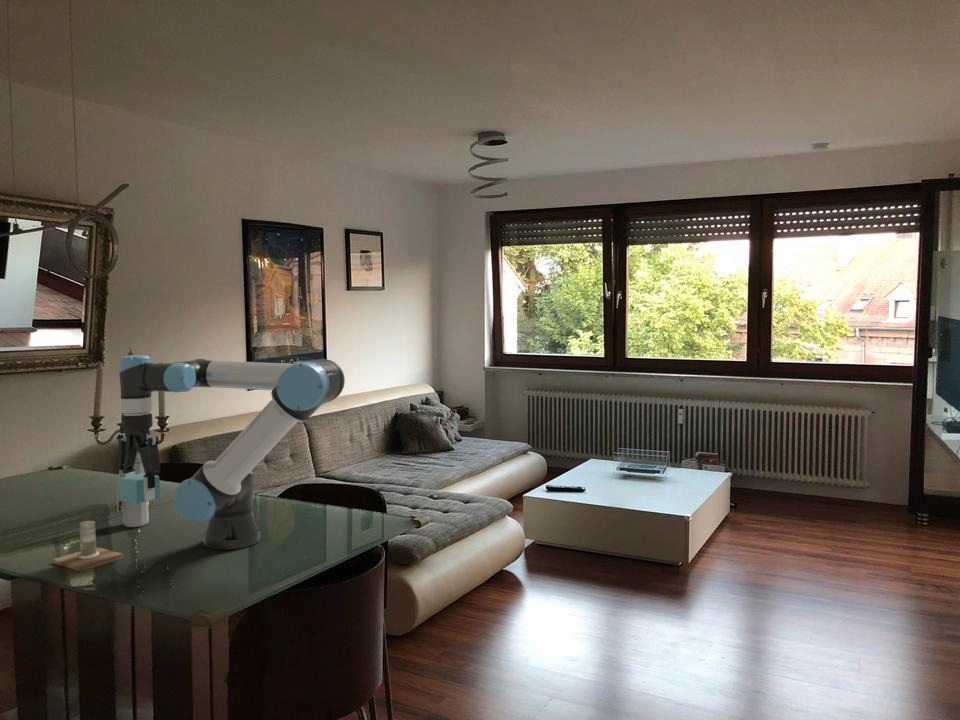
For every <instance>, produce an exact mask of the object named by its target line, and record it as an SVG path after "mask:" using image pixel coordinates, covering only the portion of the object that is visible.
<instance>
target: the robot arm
mask: <svg viewBox="0 0 960 720" xmlns="http://www.w3.org/2000/svg"><path fill="white" fill-rule="evenodd" d="M118 375H119V385H120V413H121V414H122V415H121V417H120V418H121V428H122V429H123V430H125V432H123V433H118V434H117V440H118V457H117V458H118V459H117V463H118V464H117V469H118V471H119V470H122V472H123V473H124V477H127V476H132V475H135V472H132V471H135V469H134V463H135V459H136V454H137V452H138V453H140V457H141V460H142V464H143V468H144V471H145V475H144V476H143V480H144V501H148V502H149V500H150V501H153V499H154V500H156V499H155V475H156V476H157V475H158V474H159V475H160V474H161V472H162V471H161V470H162V469H161V463H160V462H161V461H160V453H159V445H158V444H159V437H158V436H152V435H151V432H150V429H151V428H152V427H153V426H154V425H153V423H154V422H153V414H152V413H151V412H152V411H153V408H152V405H153V404H152V393H153V392H162V393H164V392H165V393H166V392H167V393H169V392H170V393H177V394H178V393H182V392H190V391H191V390H192V389H193V388H218V389H219V388H220V389H241V390H242V389H243V390H260V391H271V393H270V395H271V399H270V401H269V402H268V403H267V404H266V405H265V406H264V407H263V409H261V411H260V412H259V413H258V414H257V415H256V416H255V417H254V418H253V419H252V420H251V421H250V423H248V424H247V426H246V427H245V428H244V429H242V431H241V432H239V433H240V434H239V435H238V436H236V438H235V439H233V440H232V442H231V443H230V444H229V445H228V446H227V447H226V449H224V450H223V452H222V453H221V454H220V455H219V456H218V457H217V458H216V459H215V460H207V461H206V462H204V463H203V465H202V466H201V467H200V468H199V469H198V470H197V471H196V472H195V473H194V474H193V476H191V477H190V478H186V479H184V480H182V481H181V482H180V483H179V484H178V485H177V486H176V489H175V491H174V493H173V500H174V506H175V509H176V511H177V512H178V514H179V515H180V516H181V517H182V518H183V519H184V520H185V521H188V522H190V523H195V524H200V523H203V522H207V525H206V530H205V532H204V534H203V546H204V547H205V548H208V549H211V550H219V551H221V550H222V551H223V550H224V551H225V550H228V551H229V550H237V549H242V548H248V547H250V546H253V545H255V544H257V543H258V542H259V541H260V540H261V538H260V537H261V534H260V533H261V532H260V529H259V527H258V523H257V521H256V518H255V516H254V508H253V506H254V504H253V503H254V499H253V498H254V494H253V493H254V491H253V490H254V489H253V488H254V487H253V486H254V485H253V476H254V474H253V469H255V468H256V466H257V465H258V464H260V462H261V461H262V460H263V459H264V458H265V457H266V455H267V454H269V452H270V451H271V450H272V449H273V448H274V447H276V445H277V444H278V443H279V442H280V441H281V440H282V438H283V437H285V436H286V434H287V433H288V432H289V431H291V429H292V428H293V427H294V426H295V425H296V423H298V422H299V423H300V422H302V423H303V422H306V421H308V420H309V419H310V418H311V416H312V415H313V414H315V412H316V411H317V410H318V409H319V408H320V407H321V406H322V405H324V404H327V403H330V402H332V401H334V400H335V399H336V398H338V397H339V396H340V395H341V393H342V391H343V390H344V388H345V383H346V382H345V381H346V380H345V379H346V378H345V375H344V372H343V370H342V368H341V367H340V366H339V364H337V362H335V361H333V360H331V359H328V358H327V359H326V358H319V359H318V358H317V359H314V360H313V359H312V360H299V361H298V362H295V363H287V362H286V363H280V362H258V361H257V362H256V361H235V360H233V361H231V360H230V361H229V360H210V359H206V358H197V359H192V360H185V361H178V362H169V363H167V362H165V363H164V362H162V363H157V362H156V363H155V362H154V363H153V362H152V361H151V357H150V356H149V355H144V354H143V355H140V354H139V355H138V354H135V355H124V356H122V357H121V358H120V359H119V371H118ZM145 447H146V448H145ZM122 464H124V465H122Z"/></svg>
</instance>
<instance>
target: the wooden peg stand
mask: <svg viewBox="0 0 960 720" xmlns="http://www.w3.org/2000/svg"><path fill="white" fill-rule="evenodd" d="M96 537H97V536H96V522H95V521H94V520H85V521H82V522H79V542H80V543H79V547H80V551H76V552H73V553H70V554H67V555H66V554H65V555H63V556H59V557H56V558H53V559H51V561H52V564H54V565H58V566H61V567H64V568H68V569H71V570H75V571H78V572H83V571H86V570H90V569H93V568H97V567H99V566H102V565H106V564H109V563H112V562H115V561H117V560H120V559H124V558H125V554H124V553H123V552H122V553H121V552H119V551H118V552H117V551H114V550H109V549H107V548H102V547H98V546H97V540H96Z"/></svg>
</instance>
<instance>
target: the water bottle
mask: <svg viewBox="0 0 960 720" xmlns="http://www.w3.org/2000/svg"><path fill="white" fill-rule="evenodd" d="M145 448H146V447H145ZM122 465H124V464H122ZM134 469H135V471H132V472H135V475H137V474H141V473H144V474H145V471H144V468H143V464H142V460H141V457H140V453H138V452H137V454H136V459H135V463H134ZM123 477H124V473H123V472H122V470H119V469H118V481H117V482H118V483H117V495H116V503H115V504H116V509H117V512H118V513H122V524H123V525H124V526H125V528H140V527H144V526H146V525H147V524H149V522H150V520H149V518H150V516H149V515H150V514H149V501H146V502H142V503H138V504H135V503H130V502H125V501H121V509H120V510H119V500H120V487H119V478H123Z"/></svg>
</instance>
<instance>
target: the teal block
mask: <svg viewBox="0 0 960 720" xmlns="http://www.w3.org/2000/svg"><path fill="white" fill-rule="evenodd" d="M144 475H145V474H144V473H141V474H137V475H132V476H127V477H123V478H121V477H120V478H119V477H118V480H119V501H121V502H122V501H125V502H130V503H135V504H138V503H142V502H146V501H144V480H143V476H144ZM160 486H161V485H160V476H159V475H157V474H156V475H155V499H153V500H154V501H155V500H156V499H160V498H161V495H160V494H161V493H160V491H161V490H160ZM153 500H152V501H153ZM149 501H151V500H149ZM149 501H148V502H149Z"/></svg>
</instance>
